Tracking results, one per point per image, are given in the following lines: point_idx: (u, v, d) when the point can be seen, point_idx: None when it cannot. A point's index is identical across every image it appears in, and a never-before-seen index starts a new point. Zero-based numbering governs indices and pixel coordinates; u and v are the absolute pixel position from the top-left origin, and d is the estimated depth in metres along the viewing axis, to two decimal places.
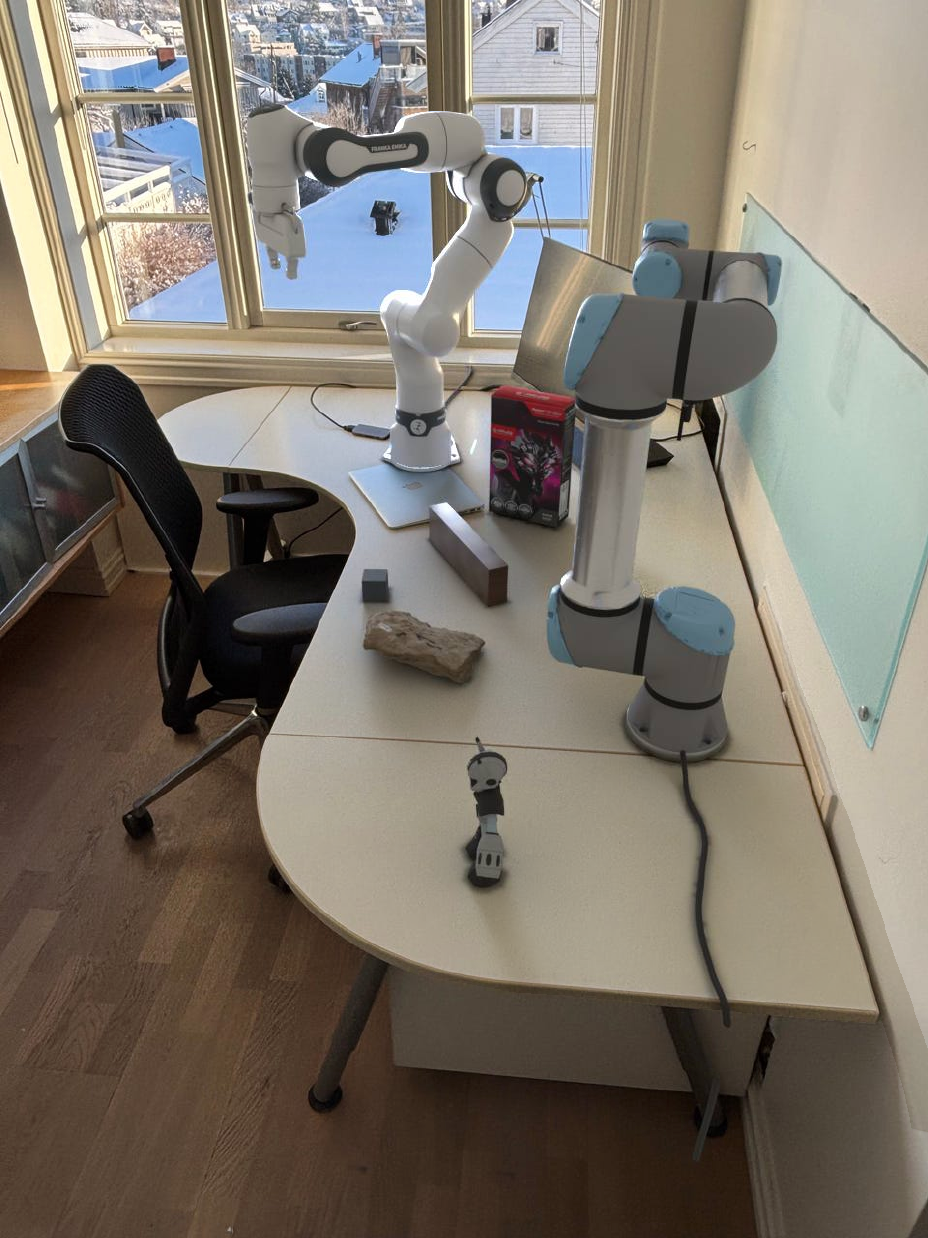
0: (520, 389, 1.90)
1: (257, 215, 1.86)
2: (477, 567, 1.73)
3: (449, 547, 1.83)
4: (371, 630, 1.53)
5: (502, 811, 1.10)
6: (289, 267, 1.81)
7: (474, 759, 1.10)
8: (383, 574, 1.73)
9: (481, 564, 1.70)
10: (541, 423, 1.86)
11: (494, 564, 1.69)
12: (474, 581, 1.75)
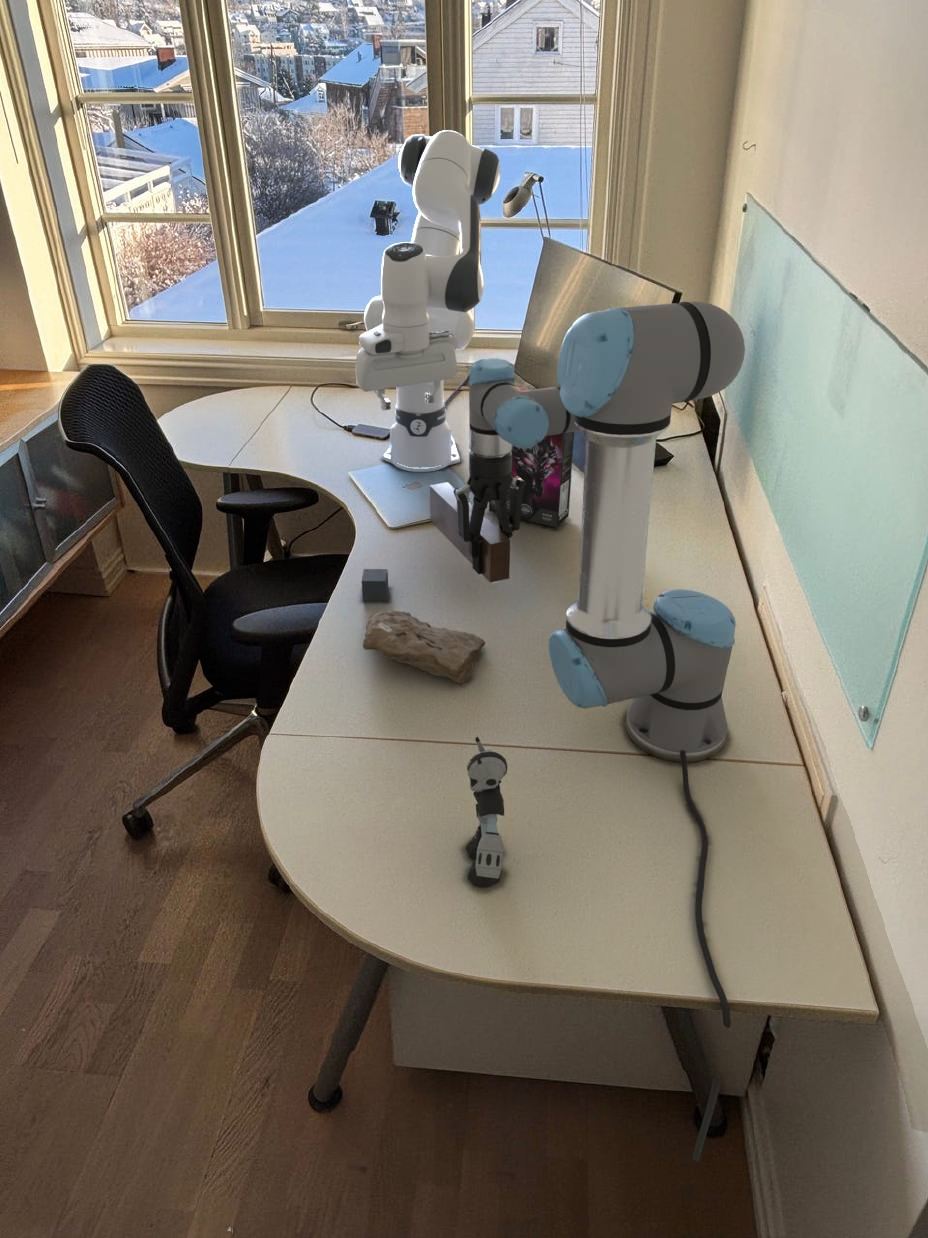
0: (520, 389, 1.90)
1: (375, 363, 1.73)
2: None
3: (450, 526, 1.80)
4: (371, 630, 1.53)
5: (502, 811, 1.10)
6: None
7: (474, 759, 1.10)
8: (383, 574, 1.73)
9: (482, 539, 1.67)
10: None
11: (496, 539, 1.66)
12: None
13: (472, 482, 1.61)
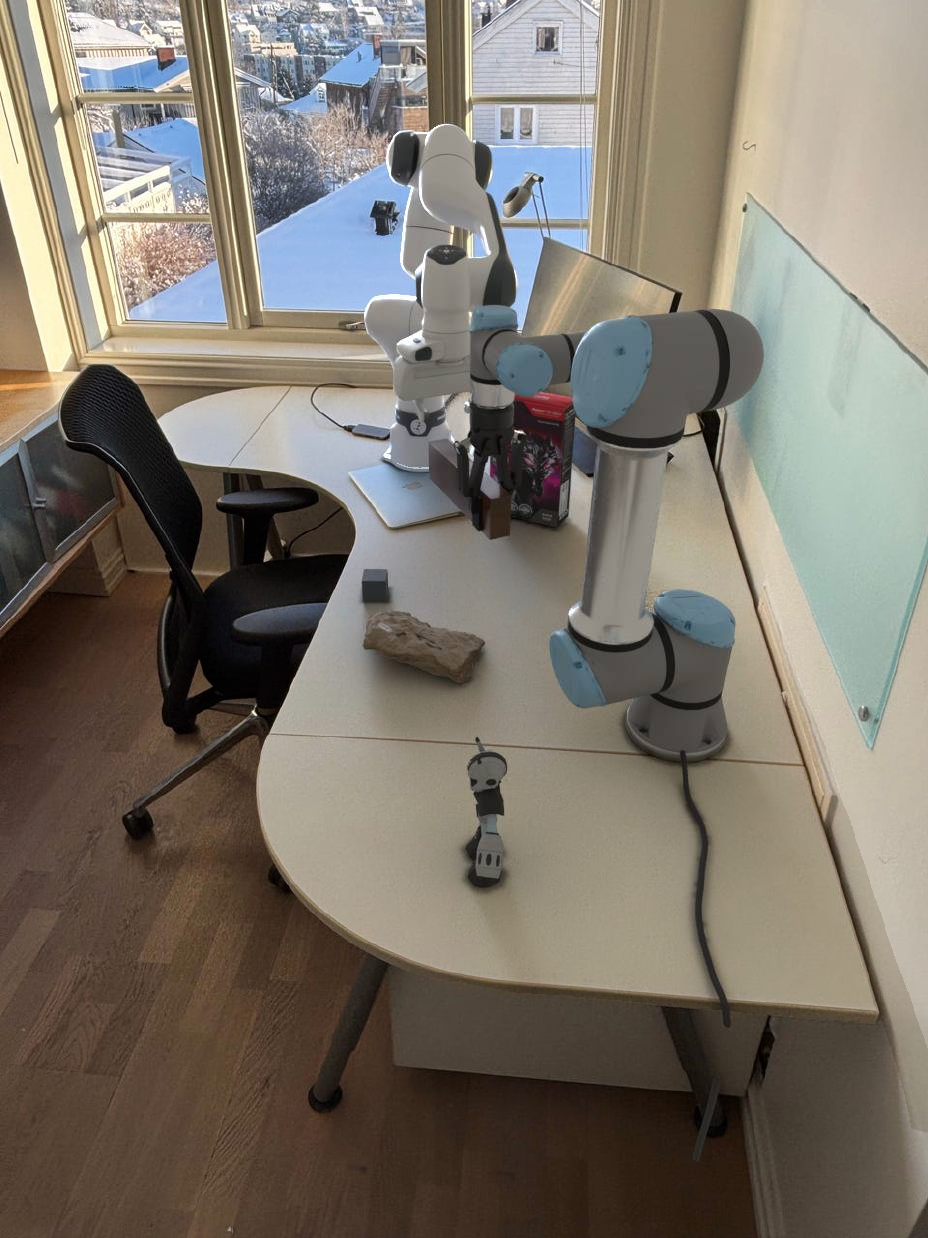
0: None
1: (414, 372, 1.65)
2: None
3: (450, 483, 1.75)
4: (371, 630, 1.53)
5: (502, 811, 1.10)
6: None
7: (474, 759, 1.10)
8: (383, 574, 1.73)
9: (483, 494, 1.62)
10: (541, 423, 1.86)
11: (496, 494, 1.61)
12: None
13: (472, 435, 1.56)
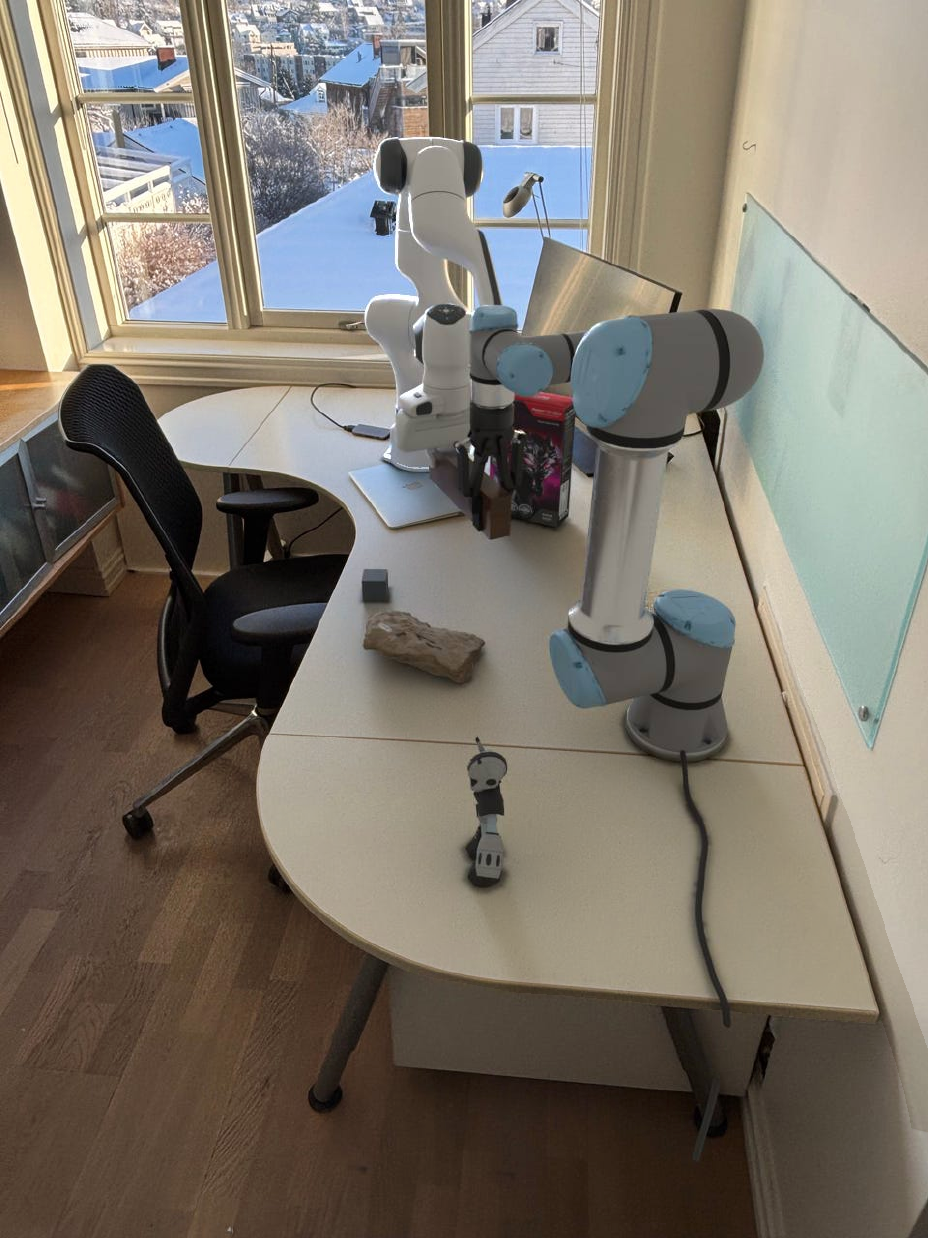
0: None
1: (415, 425, 1.71)
2: None
3: (450, 483, 1.75)
4: (371, 630, 1.53)
5: (502, 811, 1.10)
6: None
7: (474, 759, 1.10)
8: (383, 574, 1.73)
9: (483, 495, 1.62)
10: (541, 423, 1.86)
11: (496, 494, 1.61)
12: None
13: (473, 435, 1.56)
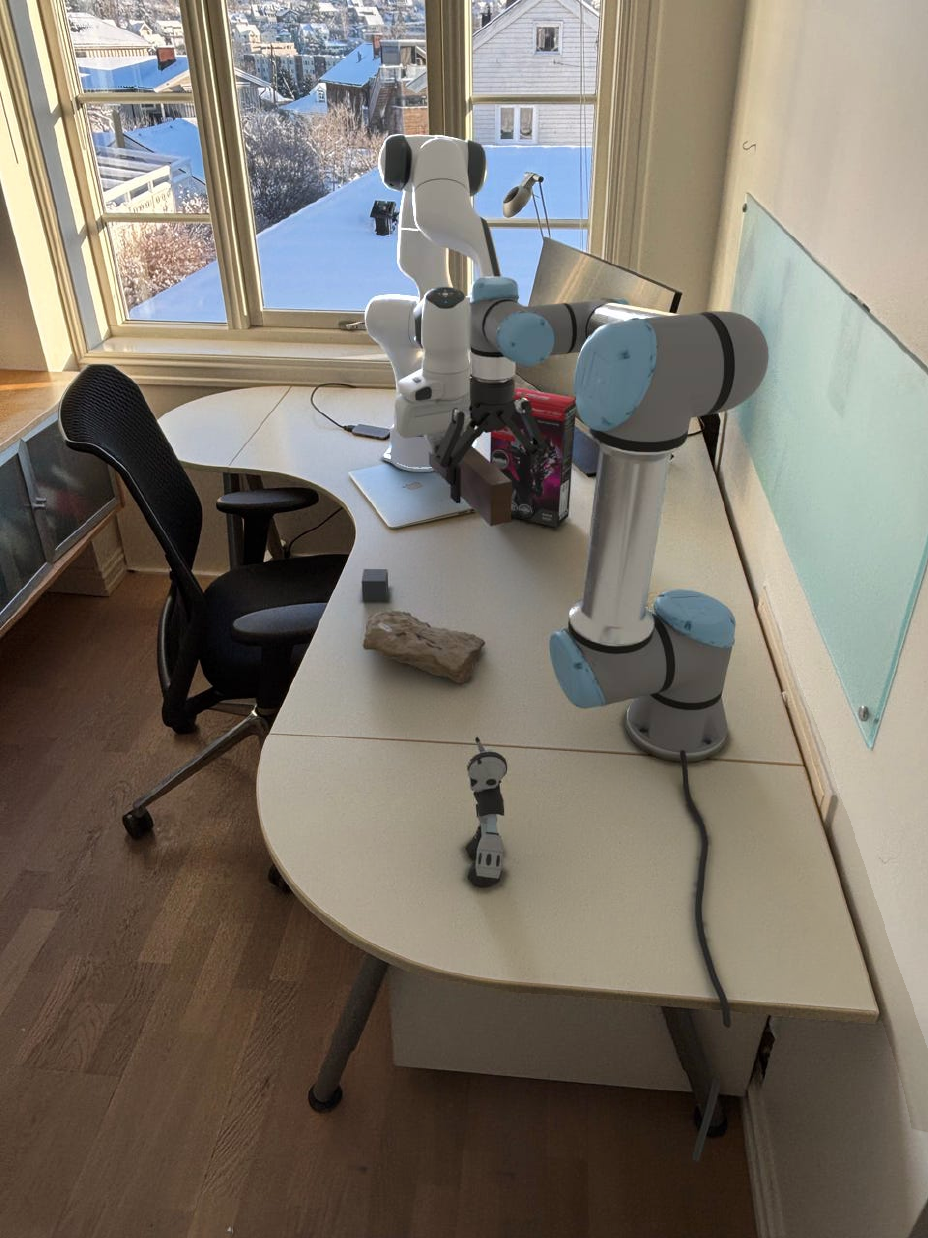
0: (520, 389, 1.90)
1: (414, 410, 1.69)
2: (478, 485, 1.63)
3: None
4: (371, 630, 1.53)
5: (502, 811, 1.10)
6: None
7: (474, 759, 1.10)
8: (383, 574, 1.73)
9: (483, 481, 1.61)
10: (541, 423, 1.86)
11: (497, 480, 1.60)
12: (476, 500, 1.66)
13: (473, 409, 1.53)
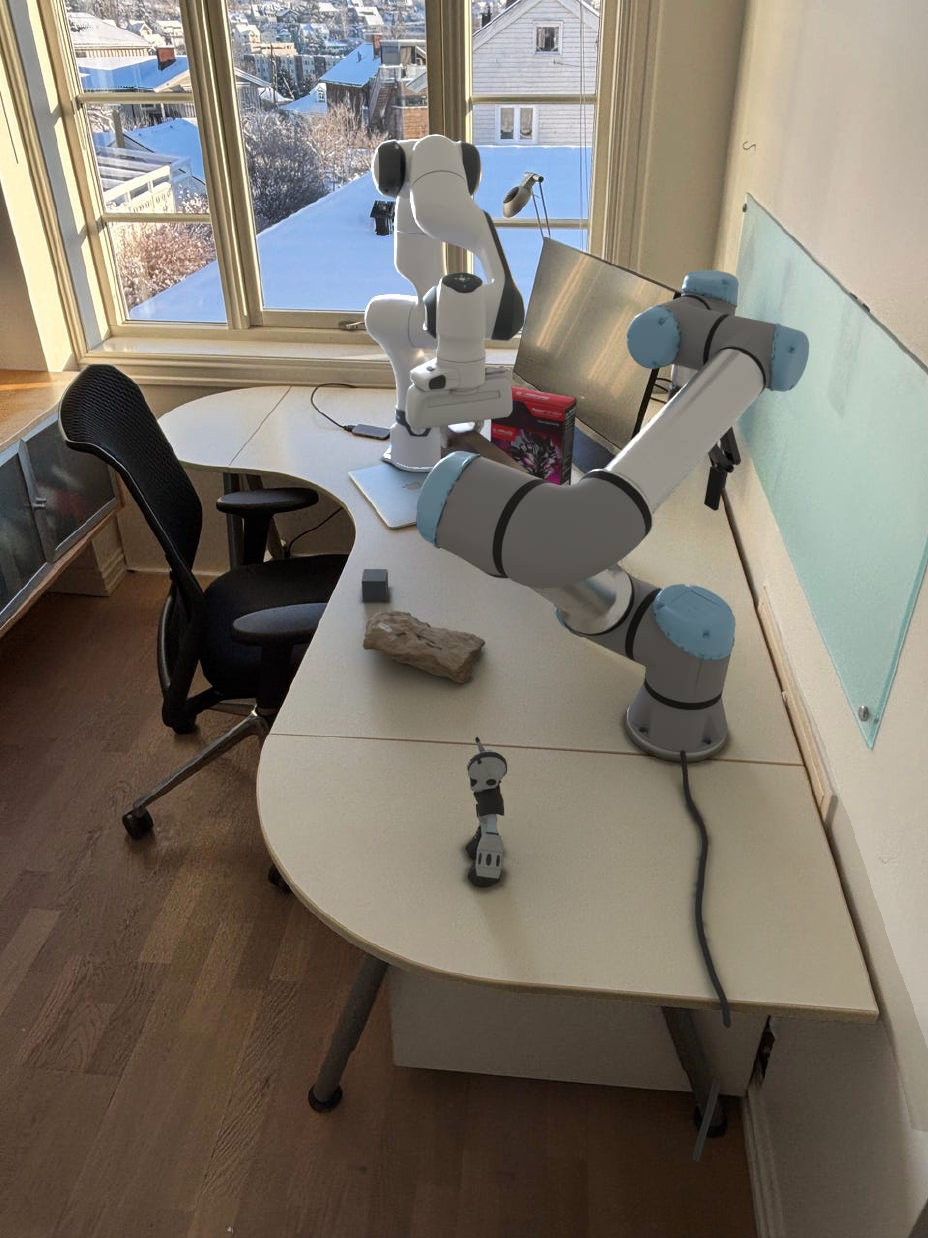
0: (520, 389, 1.90)
1: (427, 400, 1.62)
2: None
3: None
4: (371, 630, 1.53)
5: (502, 811, 1.10)
6: None
7: (474, 759, 1.10)
8: (383, 574, 1.73)
9: None
10: (541, 423, 1.86)
11: None
12: None
13: None
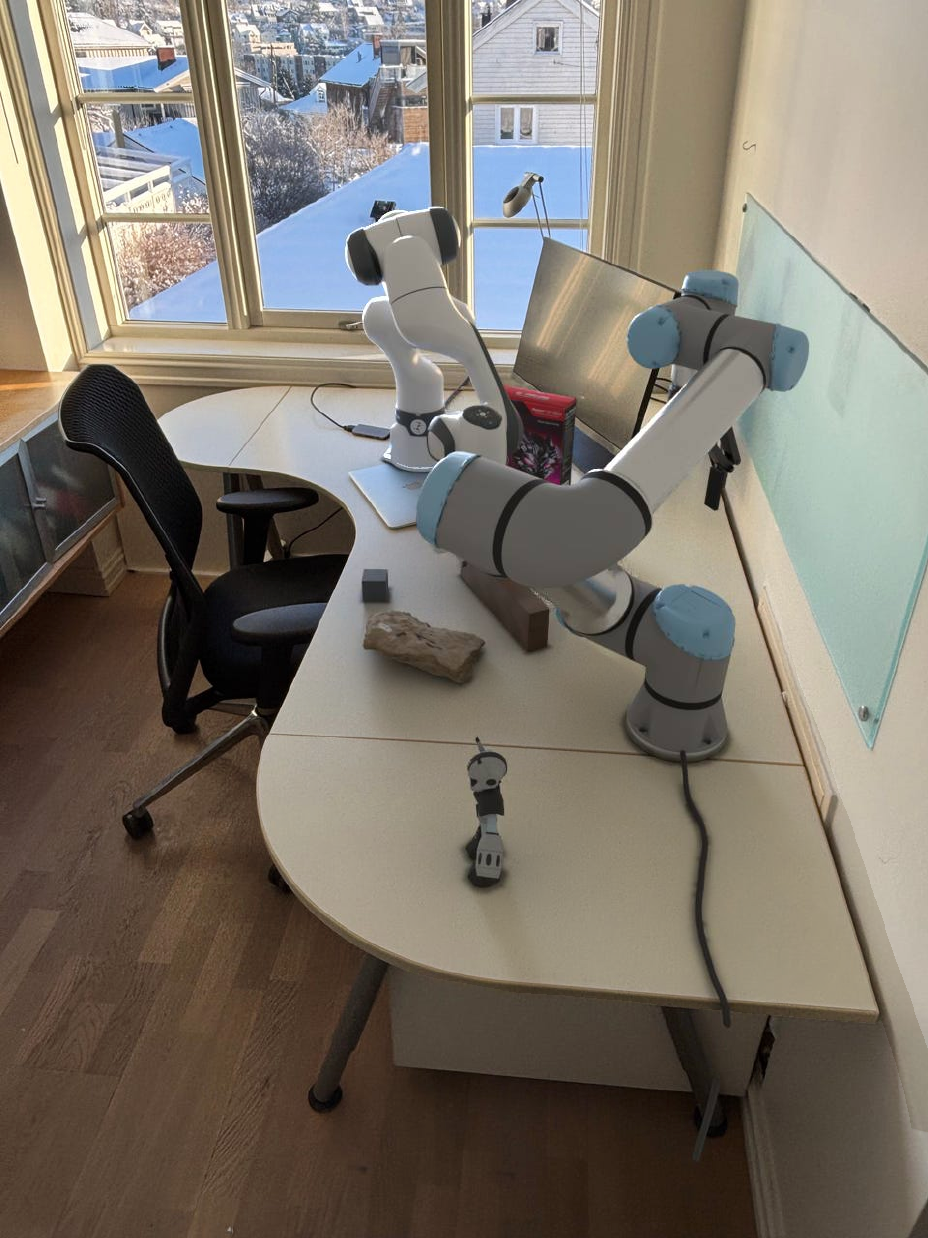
0: (520, 389, 1.90)
1: None
2: (515, 610, 1.61)
3: (483, 586, 1.71)
4: (371, 630, 1.53)
5: (502, 811, 1.10)
6: None
7: (474, 759, 1.10)
8: (383, 574, 1.73)
9: (520, 607, 1.58)
10: (541, 423, 1.86)
11: (534, 608, 1.57)
12: (511, 623, 1.63)
13: None
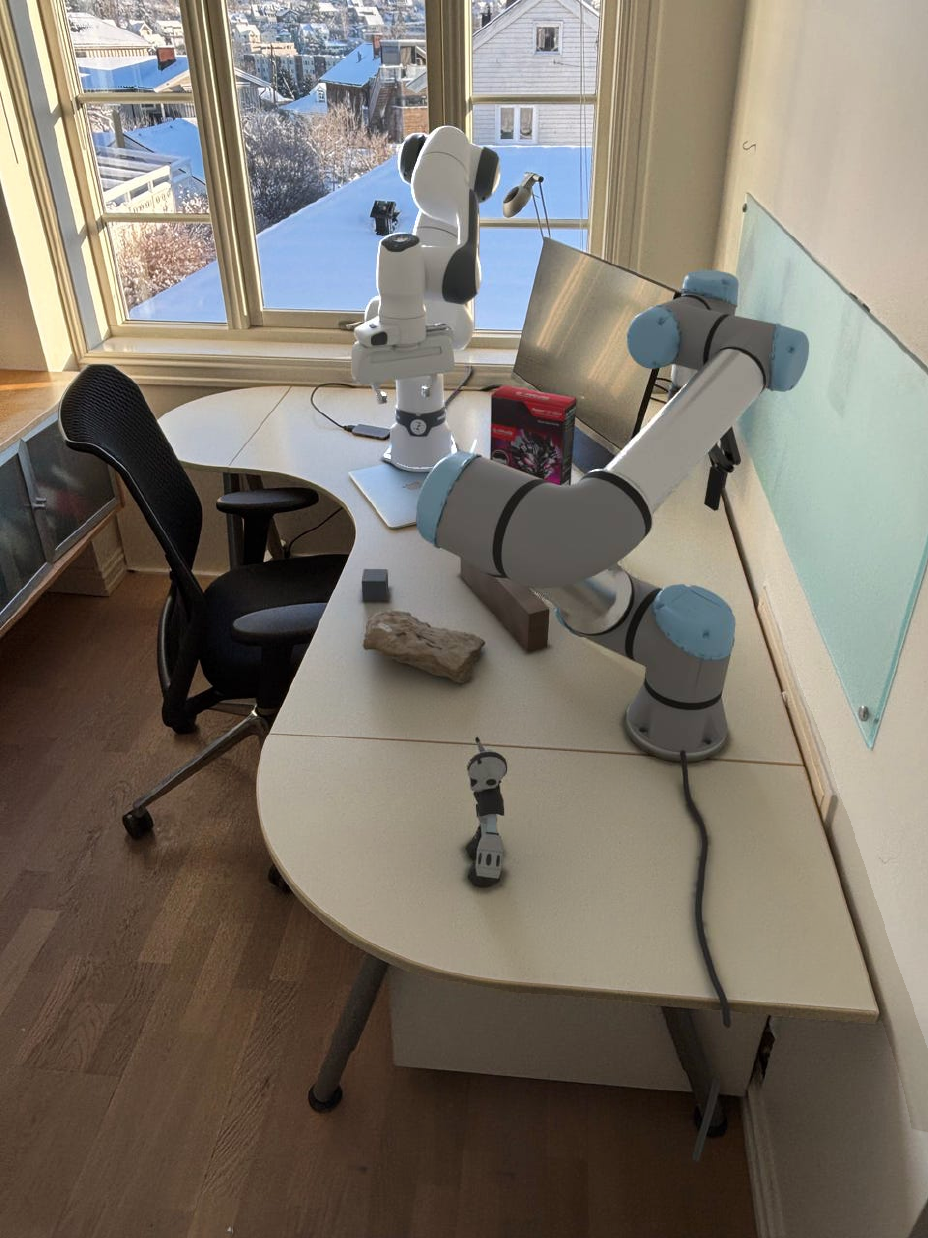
0: (520, 389, 1.90)
1: (370, 356, 1.71)
2: (515, 610, 1.61)
3: (483, 586, 1.71)
4: (371, 630, 1.53)
5: (502, 811, 1.10)
6: None
7: (474, 759, 1.10)
8: (383, 574, 1.73)
9: (520, 607, 1.58)
10: (541, 423, 1.86)
11: (534, 608, 1.57)
12: (511, 623, 1.63)
13: None
